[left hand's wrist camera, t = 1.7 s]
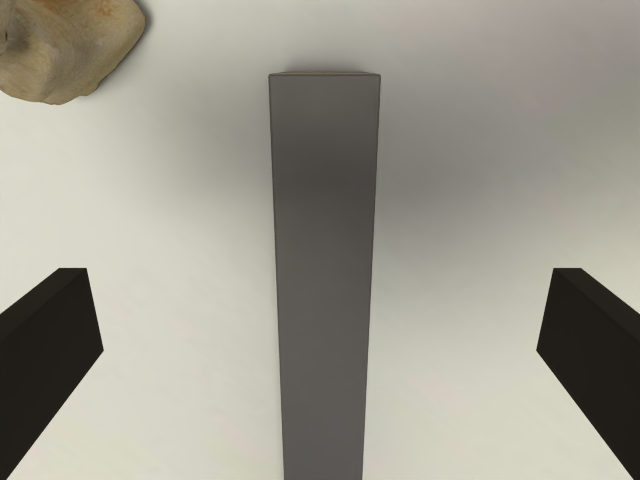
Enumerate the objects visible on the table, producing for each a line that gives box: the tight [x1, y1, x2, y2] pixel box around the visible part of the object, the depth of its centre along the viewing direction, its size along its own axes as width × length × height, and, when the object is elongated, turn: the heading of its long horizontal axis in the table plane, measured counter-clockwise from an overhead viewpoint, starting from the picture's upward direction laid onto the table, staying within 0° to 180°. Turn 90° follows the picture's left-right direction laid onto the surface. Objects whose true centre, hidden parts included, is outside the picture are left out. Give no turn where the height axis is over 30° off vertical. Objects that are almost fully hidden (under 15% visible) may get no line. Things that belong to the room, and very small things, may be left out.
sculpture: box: [0, 0, 146, 105], centre depth 20 cm, size 6×7×15 cm
